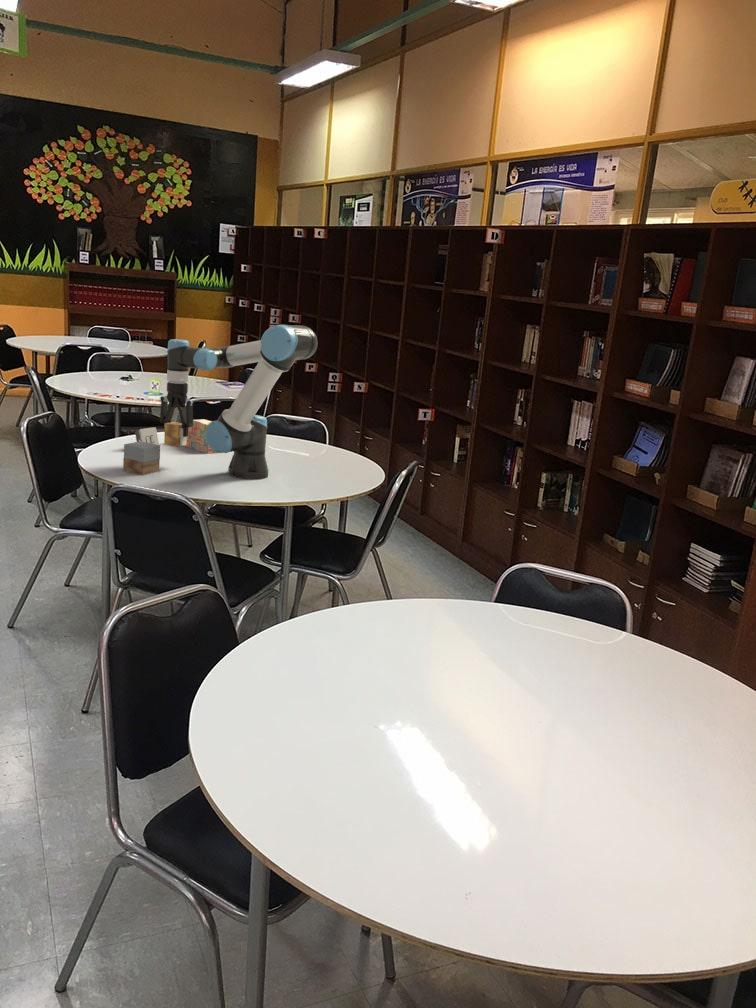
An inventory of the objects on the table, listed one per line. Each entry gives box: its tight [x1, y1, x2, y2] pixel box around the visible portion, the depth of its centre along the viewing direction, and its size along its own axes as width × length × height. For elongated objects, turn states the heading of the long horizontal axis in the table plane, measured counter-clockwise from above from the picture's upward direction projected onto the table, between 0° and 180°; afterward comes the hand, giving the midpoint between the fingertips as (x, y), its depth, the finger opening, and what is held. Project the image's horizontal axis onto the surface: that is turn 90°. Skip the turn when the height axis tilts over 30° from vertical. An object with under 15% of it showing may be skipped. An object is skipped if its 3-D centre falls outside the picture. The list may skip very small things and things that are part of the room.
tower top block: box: [123, 440, 161, 462], centre depth 301 cm, size 9×9×5 cm
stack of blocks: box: [184, 418, 218, 455], centre depth 350 cm, size 21×6×12 cm, turn 46°
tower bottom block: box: [122, 457, 161, 476], centre depth 302 cm, size 9×9×5 cm
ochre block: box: [163, 421, 188, 448], centre depth 310 cm, size 6×6×8 cm
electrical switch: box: [134, 426, 160, 445], centre depth 337 cm, size 9×5×9 cm, turn 152°
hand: (175, 443), depth 311 cm, fingers closed on ochre block, 6 cm apart
